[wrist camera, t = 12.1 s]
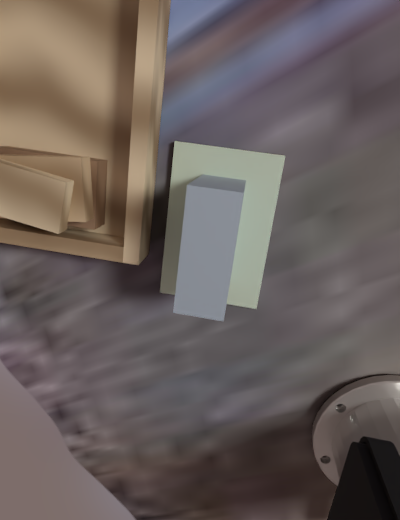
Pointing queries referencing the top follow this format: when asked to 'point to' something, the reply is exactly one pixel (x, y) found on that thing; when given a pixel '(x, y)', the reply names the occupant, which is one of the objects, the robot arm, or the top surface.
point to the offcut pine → (34, 197)
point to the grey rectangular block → (208, 246)
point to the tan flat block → (96, 177)
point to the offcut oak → (69, 169)
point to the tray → (87, 108)
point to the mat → (251, 220)
